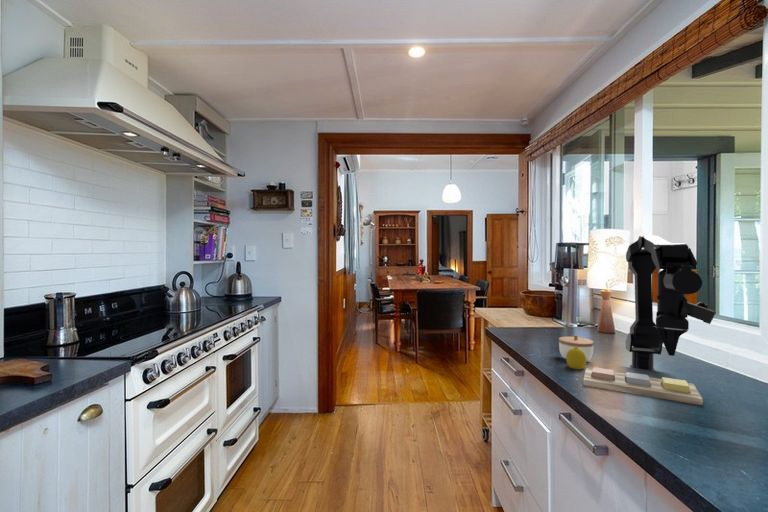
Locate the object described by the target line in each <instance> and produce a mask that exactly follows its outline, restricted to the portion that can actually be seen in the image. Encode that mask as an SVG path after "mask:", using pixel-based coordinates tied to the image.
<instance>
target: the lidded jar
mask: <svg viewBox="0 0 768 512" xmlns="http://www.w3.org/2000/svg"><path fill="white" fill-rule="evenodd" d="M594 345H595V343H594V341H593V340H592V339H589V338H584V337H580V336H578V335H577V334H574V335H573V336H560V337H558V347H559V349H558V350H559V353H560V355H561V357H562V358H563V359H565V360H566V357H567V353H568V351H569V350H570V349H572V348H575V347H578V348H579V349H581V350H582V351H583V352H584V354H585V356H586V362H589V361H590V359H591V358H592V357H593V352H594Z"/></svg>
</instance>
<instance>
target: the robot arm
mask: <svg viewBox="0 0 768 512" xmlns="http://www.w3.org/2000/svg"><path fill="white" fill-rule="evenodd" d="M691 249H692V248H690V247H689V245H688V244H687V243H680V242H679V243H678V242H676V243H674V242H669V241H667V240H666V239H663V238H662V237H661V236H660V235H656V234H646V235H643V234H642V235H639V236H638V239H637V240H636V241H634V242H633V243H631V244H629V246H628V247H627V251H626V253H625V259H626V262H627V268H628V269H629V270H630V271H631V272H632V274H633V275H634V278H633V279H634V305H635V307H634V308H635V309H634V311H635V312H634V313H635V320H634V321H633V323H632V324H631V325H630V327H629V332H628V334H627V337H626V339H625V341H624V342H625V344H624V345H625V350H627V351H628V352H629V353H631V364H630V365H629V367H630V368H631V369H637V370H643V371H644V370H645V371H654V372H655V371H656V369H655V368H654V366H655V365H654V359H655V357H654V356H655V355H660V356H661V355H662V351H663V346H664V348H665V350H666V352H667V354H668V355H669V356H672V357H674V356H675V354H676V351H677V347H678V343H679V341H680V340H679V339H680V337H681V336H682V335H683V334H685V333H687V332H688V330H689V325H690V324H689V320H688V319H687V318H688V316H689V317H692V318H694V319H697V320H699V321H702V322H703V323H706V324H709V325H710V324H711V323H712V321H713V319H714V318H715V315H716V311H715V310H712V309H710V308H709V307H708V304H707V303H705V302H702V301H699V302H697V303H696V304H695V303H692V302H689V301H688V297H686V295H693V294H695V293H697V292H699V291H700V290H701V288H702V286H703V280H702V278H701V276H700V275H699V274H698V273H697V272H695V271H693V270H697V268H698V267H697V266H698V262H697V259H696V258H695V257H696V256H695V255H694V253H693V252H692V250H691ZM656 269H657V271H656ZM655 271H656V273H657V274H656V275H657V280H656V281H657V282H656V284H657V285H656V287H657V289H656V292H657V293H656V294H657V295H656V296H657V297H656V299H657V300H656V301H657V302H656V303H657V304H656V305H657V308H656V310H657V311H656V314H655V315H656V317H655V321H654V312H653V310H654V309H653V308H654V307H653V282H652V280H653V279H652V277H653V274H654V273H655ZM654 354H655V355H654Z"/></svg>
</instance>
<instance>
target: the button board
mask: <svg viewBox="0 0 768 512" xmlns="http://www.w3.org/2000/svg"><path fill="white" fill-rule="evenodd" d="M592 371H593V368H589V367H586V368H585V371H584V376H583V383H582V384H583V386H587V387H592V388H593V387H594V388H598V389H599V388H600V389H605V390H610V391H617V392H623V393H628V394H634V395H639V396H645V397H651V398H656V399H663V400H669V401H675V402H679V403H687V404H693V405H699V406H703V404H704V403H703V402H704V401H703V400H704V399H703V396H702V395H701V394H700V392H699V391H698V388H696V386H695V384H694V383H690V382H689V383H688V382H687V383H688V385H689V393H687V392H681V391H674V390H668V389H663V388H662V378H656V377H650V376H649V379H650V387H649V386H643V385H637V384H631V383H626V373H622V372H616V371H614V381H612V380H605V379H599V378H593V377H592Z"/></svg>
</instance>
